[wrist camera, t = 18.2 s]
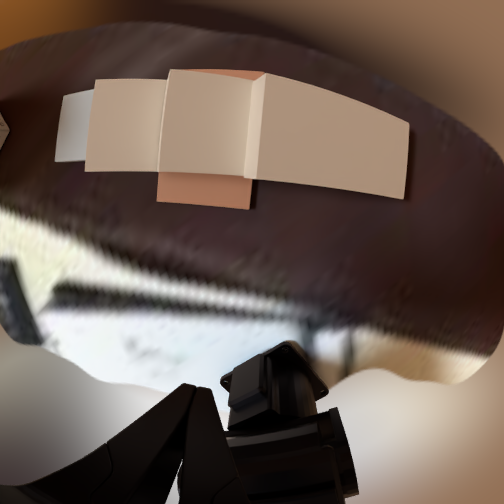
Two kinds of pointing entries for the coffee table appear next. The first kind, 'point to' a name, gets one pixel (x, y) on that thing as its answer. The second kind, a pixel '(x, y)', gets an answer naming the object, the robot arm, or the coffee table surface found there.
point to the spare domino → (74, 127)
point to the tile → (208, 175)
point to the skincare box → (3, 130)
